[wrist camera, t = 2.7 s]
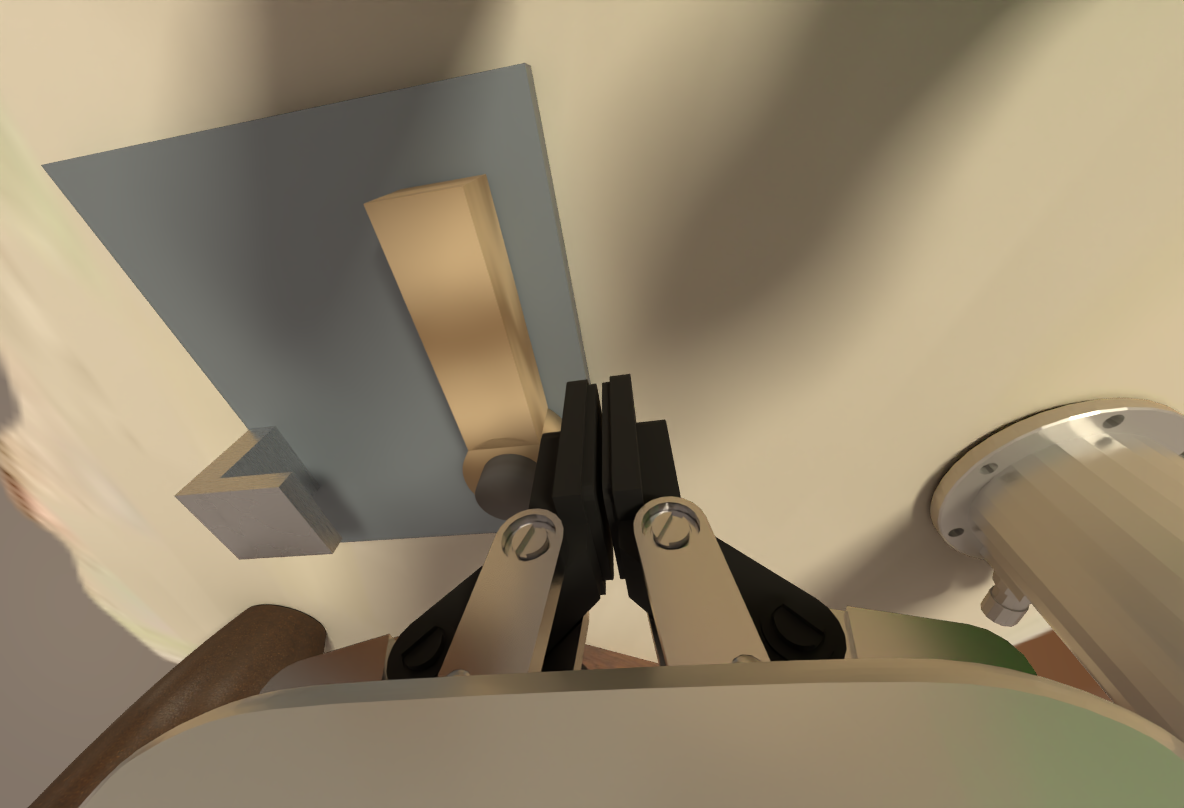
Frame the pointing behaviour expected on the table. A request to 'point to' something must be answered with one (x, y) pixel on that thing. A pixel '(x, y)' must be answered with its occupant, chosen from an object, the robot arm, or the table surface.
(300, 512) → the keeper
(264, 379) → the board
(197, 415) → the table surface
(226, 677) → the plant pot
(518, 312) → the link
